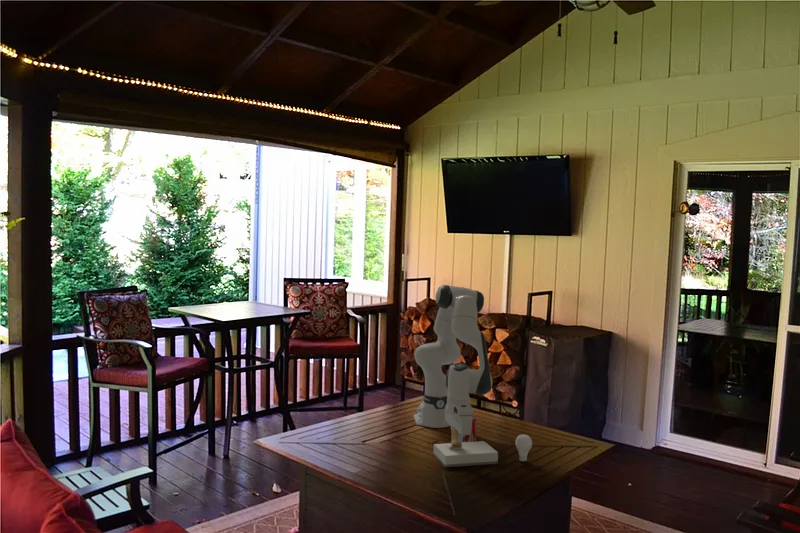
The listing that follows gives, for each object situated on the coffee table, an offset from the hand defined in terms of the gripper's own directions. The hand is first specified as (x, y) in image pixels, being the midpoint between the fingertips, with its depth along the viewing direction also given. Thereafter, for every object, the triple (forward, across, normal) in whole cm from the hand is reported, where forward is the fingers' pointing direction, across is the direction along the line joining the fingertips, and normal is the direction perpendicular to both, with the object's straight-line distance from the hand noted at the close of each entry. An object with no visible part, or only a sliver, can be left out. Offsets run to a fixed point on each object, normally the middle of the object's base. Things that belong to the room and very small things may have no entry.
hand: (456, 439), depth 251 cm
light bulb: (+9, +7, +26) cm, 28 cm away
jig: (+8, 0, +4) cm, 9 cm away
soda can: (+8, -17, +12) cm, 22 cm away
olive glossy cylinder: (+3, 0, 0) cm, 3 cm away
